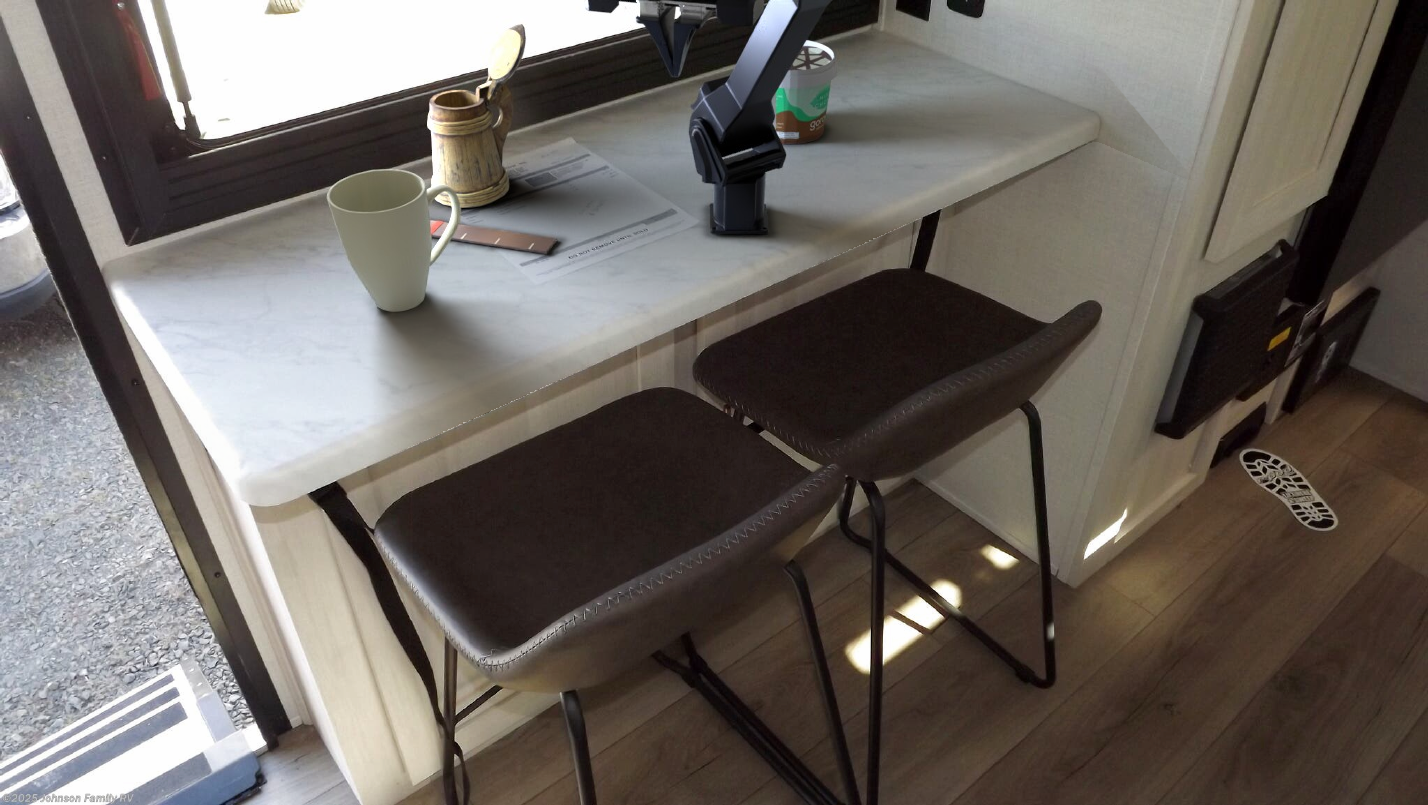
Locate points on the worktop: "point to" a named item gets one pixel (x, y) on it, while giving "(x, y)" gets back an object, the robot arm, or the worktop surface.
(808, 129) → the food container
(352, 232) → the mug
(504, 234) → the ruler
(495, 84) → the wooden mug
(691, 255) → the worktop surface
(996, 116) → the worktop surface
